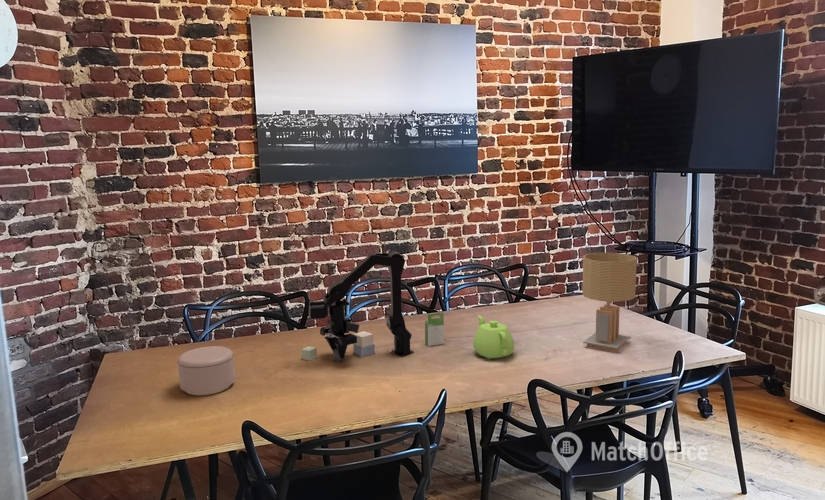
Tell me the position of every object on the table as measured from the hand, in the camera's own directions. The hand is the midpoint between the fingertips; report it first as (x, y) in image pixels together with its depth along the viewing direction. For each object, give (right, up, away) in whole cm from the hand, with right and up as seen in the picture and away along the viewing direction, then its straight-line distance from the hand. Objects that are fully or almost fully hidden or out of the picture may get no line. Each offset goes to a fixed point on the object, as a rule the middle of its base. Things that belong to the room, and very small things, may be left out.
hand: (339, 356), depth 225 cm
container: (-42, -6, -22) cm, 48 cm away
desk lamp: (+105, +3, +9) cm, 105 cm away
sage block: (-12, -1, +3) cm, 12 cm away
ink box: (+37, +2, +15) cm, 40 cm away
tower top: (+9, +4, +6) cm, 11 cm away
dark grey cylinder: (0, -1, 0) cm, 1 cm away
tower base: (+9, 0, +7) cm, 11 cm away
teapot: (+58, +1, +3) cm, 59 cm away
